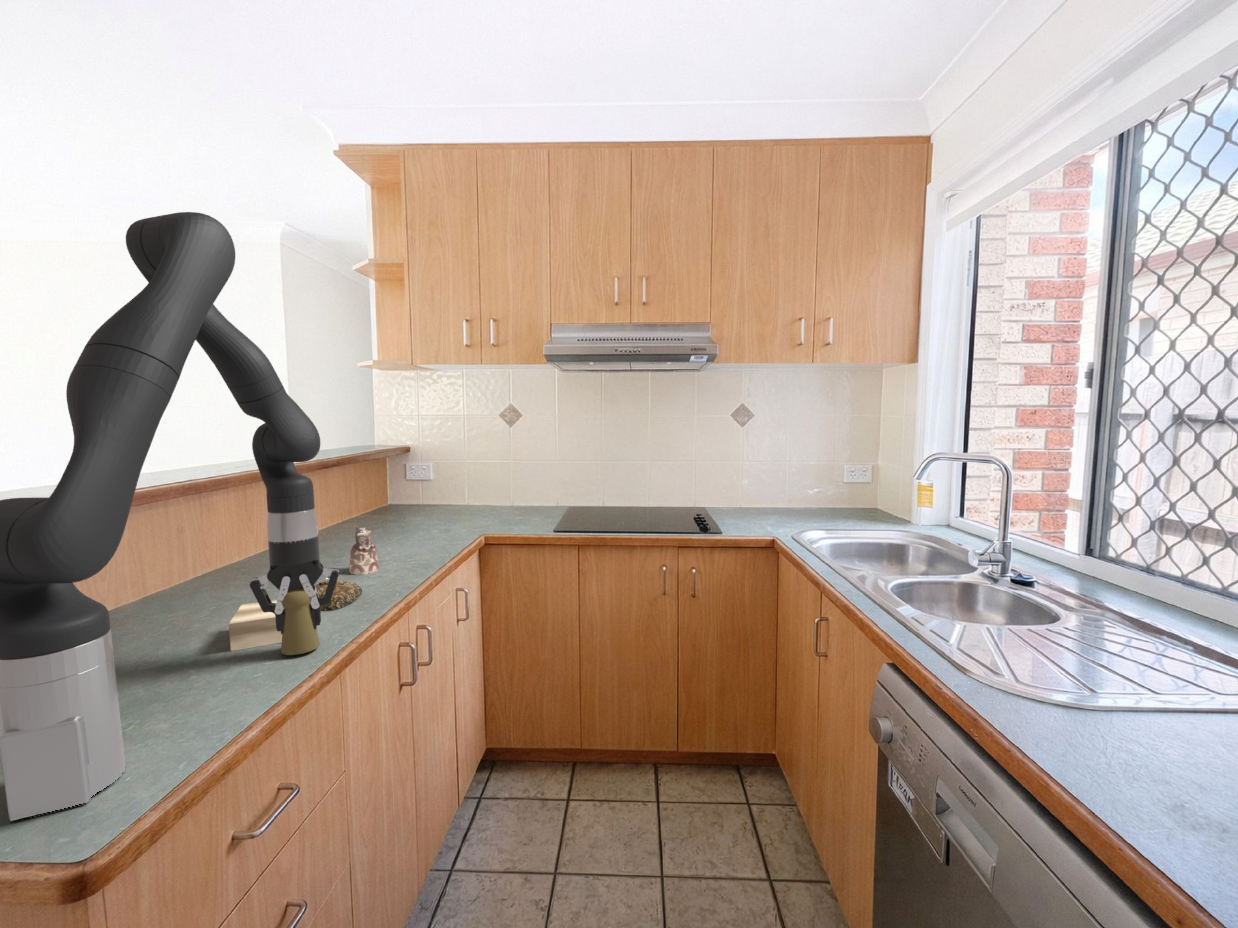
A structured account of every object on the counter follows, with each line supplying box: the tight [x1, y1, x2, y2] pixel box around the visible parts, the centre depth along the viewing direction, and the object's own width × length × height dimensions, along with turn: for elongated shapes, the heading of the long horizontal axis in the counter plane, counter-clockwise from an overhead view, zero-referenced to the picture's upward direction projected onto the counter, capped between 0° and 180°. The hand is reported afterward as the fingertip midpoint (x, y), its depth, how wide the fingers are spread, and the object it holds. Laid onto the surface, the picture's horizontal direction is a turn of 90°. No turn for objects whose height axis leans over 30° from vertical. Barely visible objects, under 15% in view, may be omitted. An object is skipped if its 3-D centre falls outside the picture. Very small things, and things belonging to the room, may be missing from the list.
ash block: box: [228, 599, 285, 652], centre depth 102 cm, size 11×11×5 cm
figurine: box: [348, 525, 380, 576], centre depth 143 cm, size 7×7×12 cm
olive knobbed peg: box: [280, 589, 321, 656], centre depth 94 cm, size 6×6×11 cm
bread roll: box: [315, 579, 363, 612], centre depth 120 cm, size 13×12×5 cm
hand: (299, 629), depth 94 cm, fingers closed on olive knobbed peg, 4 cm apart
